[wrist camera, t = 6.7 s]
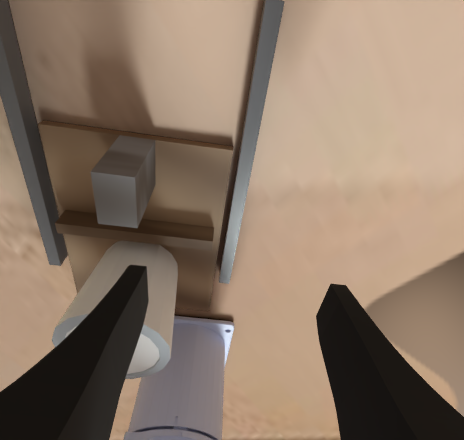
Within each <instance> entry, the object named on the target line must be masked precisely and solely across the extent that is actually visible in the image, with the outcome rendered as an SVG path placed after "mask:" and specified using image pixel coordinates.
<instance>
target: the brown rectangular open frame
mask: <svg viewBox="0 0 464 440" xmlns="http://www.w3.org/2000/svg"><path fill="white" fill-rule="evenodd" d="M38 127H39V131H40V136H41V140H42V144H43V148H44V153H45V157H46V161H47V165H48V170H49V174H50V178H51V183H52V187H53V191H54V195H55V200H56V204H57V208H58V213H59V219H58V220H57V221H56V222H55V226H56V230H57V233H61V234H64V238H65V242H66V247H67V251H68V255H69V260H70V264H71V268H72V272H73V277H74V281H75V285H76V290H77V294H78V293H79V291H80V290H81V288H82V287H83V285H84V284H85V282H86V281H87V279H88V278H89V276H90V275H91V273H92V272H93V270H94V269H95V267H96V266H97V264H98V263H99V261H100V260H101V258H102V257H103V255H104V254H105V252H106V251H107V249H108V248H110V247H111V246H112V245H113V244H115V243H116V242H119V241H131V242H140V243H149V244H158V245H161V246H162V247H163V248H165V249H166V250H167V251H169V252H170V253H171V254H172V256H173V257H174V259H175V260H176V262H177V265H178V279H177V290H176V302H175V308H181V309H191V310H201V311H209V307H210V301H211V294H212V288H213V281H214V274H215V268H216V261H217V254H218V248H219V241H220V235H221V228H222V221H223V215H224V208H225V201H226V195H227V188H228V181H229V175H230V168H231V162H232V155H233V146H226V145H219V144H212V143H205V142H197V141H190V140H183V139H175V138H168V137H161V136H154V135H146V134H139V133H132V132H124V131H117V130H110V129H103V128H95V127H88V126H81V125H73V124H66V123H59V122H52V121H44V120H43V121H41V122H40V123H39V124H38Z"/></svg>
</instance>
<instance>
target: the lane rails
mask: <svg viewBox="0 0 464 440" xmlns="http://www.w3.org/2000/svg"><path fill="white" fill-rule="evenodd" d="M284 2H285V1H282V0H264V3H263V9H262V15H261V21H260V27H259V34H258V40H257V46H256V52H255V58H254V64H253V70H252V76H251V83H250V89H249V95H248V101H247V107H246V113H245V119H244V125H243V131H242V138H241V144H240V150H239V156H238V162H237V168H236V174H235V180H234V187H233V193H232V199H231V205H230V211H229V217H228V223H227V229H226V235H225V242H224V248H223V254H222V260H221V266H220V274H219V283H228V284H229V282H230V277H231V272H232V267H233V262H234V257H235V252H236V247H237V242H238V236H239V231H240V226H241V221H242V216H243V211H244V206H245V201H246V196H247V191H248V185H249V180H250V175H251V170H252V165H253V160H254V155H255V150H256V145H257V139H258V134H259V129H260V124H261V119H262V114H263V109H264V104H265V99H266V94H267V88H268V83H269V78H270V73H271V68H272V63H273V58H274V53H275V48H276V42H277V37H278V32H279V27H280V22H281V17H282V12H283V7H284ZM0 95H1V98H2V102H3V105H4V109H5V112H6V116H7V119H8V123H9V126H10V129H11V133H12V136H13V140H14V143H15V147H16V150H17V154H18V157H19V161H20V164H21V167H22V171H23V174H24V178H25V181H26V185H27V188H28V192H29V195H30V199H31V202H32V205H33V209H34V212H35V216H36V219H37V223H38V226H39V230H40V233H41V237H42V240H43V243H44V247H45V250H46V254H47V257H48V261H49V264H50V265H59V266H61V264H62V263H63V261H64V260H65V258H66V257H67V255H68V253H67V249H66V245H65V241H64V236H63V234H61V233H57V230H56V226H55V222H56V221H57V220H58V219H59V215H58V211H57V207H56V202H55V198H54V194H53V190H52V185H51V181H50V177H49V173H48V168H47V164H46V160H45V156H44V151H43V147H42V143H41V139H40V134H39V130H38V126H37V122H36V117H35V113H34V109H33V105H32V100H31V96H30V92H29V88H28V83H27V79H26V75H25V71H24V66H23V62H22V58H21V54H20V49H19V45H18V41H17V37H16V32H15V28H14V24H13V20H12V15H11V11H10V7H9V3H8V0H0Z"/></svg>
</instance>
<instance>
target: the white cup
mask: <svg viewBox="0 0 464 440" xmlns="http://www.w3.org/2000/svg"><path fill="white" fill-rule="evenodd" d="M129 265H140V266H147V280H148V297H149V302H148V307H147V311H146V316H145V320H144V324H143V328H142V331H141V334H140V337H139V340H138V343H137V346H136V349H135V351H134V354H133V357H132V360H131V363H130V366H129V369H128V372H127V375H126V378H125V379H134V378H140V377H146V376H150V375H152V374H154V373H156V372H158V371H160V370H162V369H164V367H165V366H166V365H167V363H168V362H169V360H170V359H171V348H172V337H173V325H174V314H175V302H176V290H177V279H178V265H177V262H176V260H175V259H174V257H173V256H172V254H171V253H170V252H169V251H167V250H166V249H165V248H163V247H162V246H161V245H158V244H149V243H140V242H131V241H119V242H116V243H115V244H113V245H112V246H111V247H110V248H108V249H107V251H106V252H105V254H104V255H103V257H102V258H101V260H100V261H99V263H98V264H97V266H96V267H95V269H94V270H93V272H92V273H91V275H90V276H89V278H88V279H87V281H86V282H85V284H84V285H83V287H82V288H81V290H80V291H79V293H78V294H77V296H76V297H75V299H74V300H73V302H72V303H71V305H70V306H69V308H68V309H67V311H66V312H65V314H64V315H63V317H62V318H61V320H60V321H59V323H58V324H57V326H56V327H55V330H54V334H53V338H52V342H53V344H54V346H55V347H56V346H57V345H58V344H60V343H61V342H62V341H63V340H64V339H65V338H66V337H67V336H68V335H69V334H70V333H71V332H72V331H73V330H74V329H75V328H76V327H77V326H78V325H79V324H80V323H81V322H82V321H83V320H84V319H85V318H86V317H87V316H88V314H89V313H90V312H91V311H92V310H93V309H94V308H95V307H96V306H97V304H98V303H99V302H100V301H101V300H102V299H103V298H104V296H105V295H106V294H107V293H108V292H109V290H110V289H111V288H112V287H113V286H114V284H115V283H116V282H117V280H118V279H119V278H120V277H121V275H122V274H123V273H124V271H125V270H126V268H127V267H128V266H129Z"/></svg>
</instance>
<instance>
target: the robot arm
mask: <svg viewBox="0 0 464 440" xmlns="http://www.w3.org/2000/svg"><path fill="white" fill-rule="evenodd" d="M148 302H149V297H148V280H147V266H140V265H129V266H128V267H127V268H126V270H125V271H124V273H123V274H122V275H121V277H120V278H119V279H118V280H117V282H116V283H115V284H114V286H113V287H112V288H111V289H110V290H109V292H108V293H107V294H106V295H105V296H104V298H103V299H102V300H101V301H100V302H99V303H98V304H97V306H96V307H95V308H94V309H93V310H92V311H91V312H90V313H89V314H88V316H87V317H86V318H85V319H84V320H83V321H82V322H81V323H80V324H79V325H78V326H77V327H76V328H75V329H74V330H73V331H72V332H71V333H70V334H69V335H68V336H67V337H66V338H65V339H64V340H63V341H62V342H61V343H60V344H58V345H57V346H56V347H55V348H54V349H53V350H52V351H51V352H50V353H48V354H47V355H46V356H45V357H44V358H43V359H41V360H40V361H39V362H38V363H37V364H36V365H34V366H33V367H32V368H31V369H30V370H28V371H27V372H26V373H25V374H23V375H22V376H21V377H20V378H18V379H17V380H16V381H15V382H13V383H12V384H11V385H9V386H8V387H6V388H5V389H4V390H2V391H1V392H0V440H109V438H110V434H111V429H112V425H113V421H114V417H115V413H116V409H117V405H118V401H119V397H120V393H121V390H122V387H123V383H124V380H125V378H126V375H127V372H128V369H129V366H130V363H131V360H132V357H133V354H134V351H135V349H136V346H137V343H138V340H139V337H140V334H141V331H142V328H143V324H144V320H145V316H146V311H147V307H148ZM316 318H317V327H318V335H319V342H320V346H321V350H322V354H323V358H324V362H325V366H326V370H327V374H328V378H329V382H330V386H331V390H332V394H333V398H334V402H335V407H336V412H337V418H338V424H339V431H340V437H341V440H464V417H463V416H462V415H461V414H460V413H459V412H458V411H456V410H455V409H454V408H453V407H452V406H451V405H450V404H449V403H448V402H447V401H445V400H444V399H443V398H442V397H441V396H440V395H439V394H438V393H437V392H436V391H435V390H434V389H433V388H432V387H431V386H430V385H429V384H428V383H427V382H426V381H425V380H424V379H423V378H422V377H421V376H420V375H419V374H418V373H417V372H416V371H415V370H414V369H413V368H412V367H411V366H410V365H409V364H408V363H407V361H406V360H405V359H404V358H403V357H402V356H401V355H400V354H399V352H398V351H397V350H396V349H395V348H394V347H393V346H392V344H391V343H390V342H389V341H388V340H387V338H386V337H385V336H384V335H383V333H382V332H381V331H380V330H379V328H378V327H377V326H376V325H375V323H374V322H373V321H372V319H371V318H370V317H369V316H368V314H367V313H366V312H365V310H364V309H363V308H362V306H361V305H360V304H359V302H358V301H357V300H356V298H355V297H354V296H353V294H352V293H351V292H350V290H349V289H348V288H347V286H346V285H338V284H330V286H329V289H328V291H327V293H326V295H325V298H324V300H323V302H322V304H321V306H320V309H319V311H318V313H317V315H316ZM233 331H234V323H233V322H231V321H223V320H213V319H202V318H192V317H182V316H174V325H173V337H172V348H171V359H170V360H169V362H168V363H167V365H166V366H165V367H164V369H162V370H160V371H158V372H156V373H154V374H152V375H150V376H146V377H141V381H140V385H139V389H138V393H137V397H136V401H135V405H134V409H133V413H132V417H131V421H130V425H129V429H128V432H126V433H125V436H124V440H222V420H223V393H224V368H225V364H226V360H227V356H228V352H229V347H230V343H231V339H232V335H233Z"/></svg>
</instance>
